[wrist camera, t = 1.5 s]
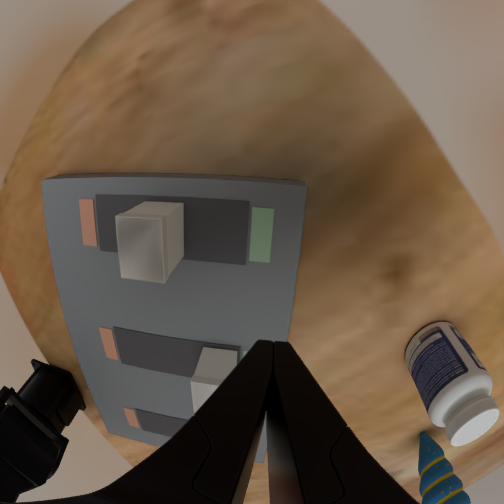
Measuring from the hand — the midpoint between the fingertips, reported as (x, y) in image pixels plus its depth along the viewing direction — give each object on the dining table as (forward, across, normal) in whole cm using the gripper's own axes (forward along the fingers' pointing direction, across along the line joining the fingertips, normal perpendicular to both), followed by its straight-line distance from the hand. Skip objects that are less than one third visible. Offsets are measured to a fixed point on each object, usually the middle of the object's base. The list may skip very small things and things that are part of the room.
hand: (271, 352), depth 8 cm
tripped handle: (+10, +6, 0) cm, 12 cm away
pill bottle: (+12, -14, +9) cm, 21 cm away
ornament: (+12, -20, +23) cm, 33 cm away
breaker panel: (+12, +8, +11) cm, 18 cm away
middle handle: (+10, +3, +10) cm, 14 cm away
